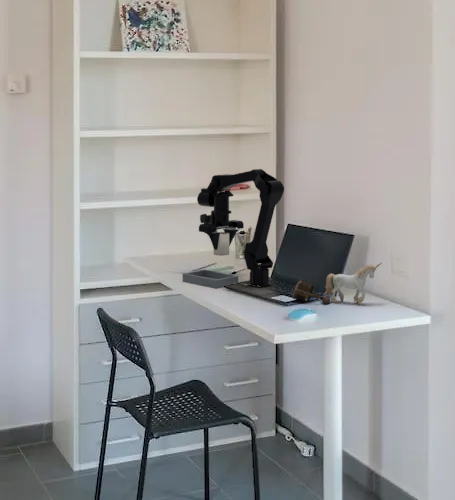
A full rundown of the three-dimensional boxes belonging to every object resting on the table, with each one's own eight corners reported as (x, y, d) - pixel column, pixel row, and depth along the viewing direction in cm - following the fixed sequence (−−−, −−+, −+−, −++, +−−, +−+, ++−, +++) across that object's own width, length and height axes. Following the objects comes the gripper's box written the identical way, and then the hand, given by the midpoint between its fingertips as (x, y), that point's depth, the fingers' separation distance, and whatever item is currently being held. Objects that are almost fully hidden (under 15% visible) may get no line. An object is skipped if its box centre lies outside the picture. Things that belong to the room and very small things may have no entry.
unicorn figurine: (383, 306, 294) (384, 266, 291) (324, 305, 295) (325, 265, 292) (380, 301, 301) (382, 262, 299) (323, 300, 302) (324, 261, 299)
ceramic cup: (232, 254, 337) (232, 233, 336) (221, 256, 333) (221, 234, 331) (221, 252, 341) (221, 231, 340) (210, 254, 337) (210, 233, 336)
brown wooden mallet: (305, 281, 307) (287, 279, 300) (335, 283, 298) (317, 281, 291) (304, 302, 306) (285, 300, 299) (333, 304, 297) (315, 302, 290)
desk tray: (238, 283, 327) (238, 275, 327) (216, 288, 319) (216, 280, 319) (204, 277, 339) (204, 269, 339) (182, 281, 331) (182, 273, 331)
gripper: (224, 204, 346) (224, 243, 349) (188, 208, 333) (189, 249, 336) (244, 206, 338) (244, 247, 341) (209, 210, 325) (209, 252, 328)
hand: (221, 248), depth 336 cm, fingers closed on ceramic cup, 6 cm apart
